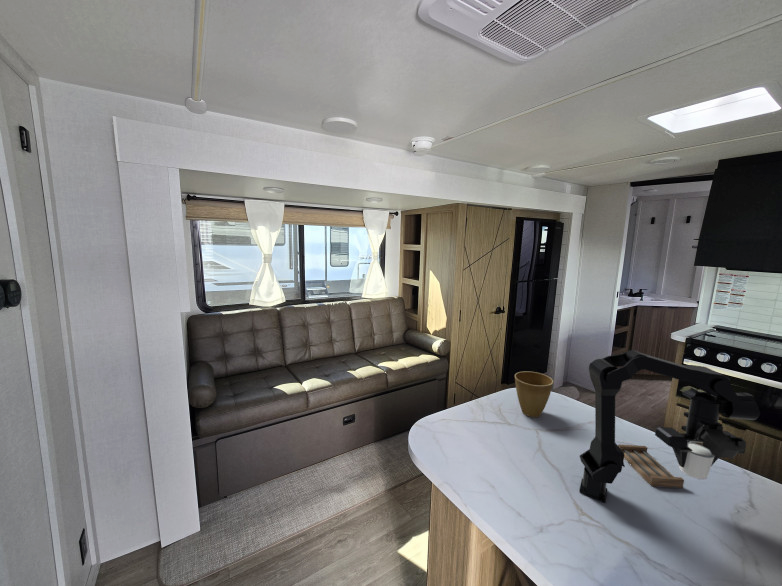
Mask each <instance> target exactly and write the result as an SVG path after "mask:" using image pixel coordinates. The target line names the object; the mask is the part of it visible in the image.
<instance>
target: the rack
mask: <svg viewBox="0 0 782 586" xmlns="http://www.w3.org/2000/svg"><path fill="white" fill-rule="evenodd" d="M617 445H618V446H619V448H620V449H621V450H622V451H623V452H624V458H625V459H624V460H625V461H626V460H627V461H628V462H629V463H628V462H627V461H626V462H627V463H628V464H629V465H630V464H631V465H630V466H631V468H632V469H633V470H634V471H636V472H637V474H639V476H640V477H641V478H643V479H644V480H645V481H647V482H648V483H649V484H650V485H651V486H650V485H649V484H648V483H647V482H646V483H647V484H648V485H649V486H650V487H658V486H663V487H662V488H672V487H678V488H677V489H684V484H685V479H684V478H683V477H679V476H674V475H673V474H672V473H671V472H670V471H669V470H667V468H665V467H664V466H663V465H662V464H661V463H660V462H659V461H657V460H656V459H655V458H654V457H653V456H652V455H651V454H649V452H648V447H647V446H646V445H633V444H620V443H619V444H617Z"/></svg>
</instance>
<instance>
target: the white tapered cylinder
mask: <svg viewBox="0 0 782 586" xmlns="http://www.w3.org/2000/svg"><path fill="white" fill-rule="evenodd" d="M688 447H689V448H690V449H692V451H690V452H688V453H687V457H686V462H685V465H684V467H681V466H680V465H679V464H678V467H679V469H680V471H681V472H682V473H684V474H685V475H687V476H689V477H692V478H694V479H697V480H707V479H708V476H709V474H710V472H711V471H710V470H711V469H712V466H713V465H712V462H713V459H714V457H715V456H714V455H713V454H712V453H711V451H710V450H709V449H707V448H705V447H703V445H700V444H697V443H696V442H689V445H688ZM711 465H712V466H711Z"/></svg>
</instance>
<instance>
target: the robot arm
mask: <svg viewBox="0 0 782 586" xmlns="http://www.w3.org/2000/svg"><path fill="white" fill-rule="evenodd" d="M641 370H645V371H649V372H652V373H656V374H659V375H662V376H666V377H669V378H671V379H672V378H673V379H676V380H678V381H682V382H685V383H688V384H690V385H691V386H693V387H695V388H697V389H700V390H702V391H698V390H696V389H695V388H693V387H691V388H689V389H687V390H684V391H682V392H681V394H682V395H684V396H686V397H687V398H689V399H690V402H689V406H688V407H689V408H688V411H683V417H686V418H687V419H686V424H685V425H681V430H682V431H683V433H680V432H679V431H677V430H676V429H675V428H673V427H667V426H658V427H656V428H655V432H654V435H655V436H656V437H657V438H658V439H659V440H661V441H662V442H663V443H665V445H667V446H668V447H670V448H672V450H673V452H674V453H673V454H674V455H675V457H676V461H677V463H678V466H679V465H680V466H681V467H684V465H685V462H686V457H687V453H688V452H690V451H692V449H690V448H689V447H688V445H689V442H691V443H701V444H702V446H703V447H705V448H707V449H709V450H710V451H711V453H712V454H713V455H714V456H715V457H714V459H713V462H712V465H711V467H712V466H713V465H714V464H715V463H716V462H717V461H718V459H721V458H727V459H728V458H729V459H734V458H735V456H737V454H739V455H744V454H745V452H746V447H747V445H746V444H747V441H745V439H743V437H740V436H739V437H737V436H736V435H734V434H733V433H731V432H729V431H728V430H724V426H723V424H722V423H721V422H719V420H720V419H719V417H720V415H721V416H722V417H724V418H727V419H736V420H749V421H756V420H758V419H759V418H760V416H761V411H760V407H759V405H758V404H757V401H755V396H754V395H753V394H750V393H748V392H735V390H734V389H733V387H732V384H731V382H732V381H731V379H730V378H729V377H728V376H726V375H724V374H722V373H720V372H717V371H716V370H714V369H711V368H709V367H707V366H701V365H695V364H689V365H686V364H680V363H676V362H674V361H670V360H666V359H663V358H659V357H657V356H654V355H650V354H646V353H643V352H640V351H638V350H636V349H635V350H634V349H631V350H627V351H625V352H622V353H618V354H611V355H607V356H605V357H602V358H597V359H595V360H593V361H591V362H590V363H589V366H588V372H589V378H590V381H591V383H592V385H593V388H594V394H595V396H594V397H595V401H594V403H595V405H594V407H595V409H594V410H595V411H594V412H595V426H594V427H595V433H594V435H595V436H594V437H593V438H592V440H591V441H590V446H589V449H588V450H586V451H584V452H583V453H581V454H580V455H579V459H580V462H581V463H582V464H583V466H584V468H583V476H582V478H581V481H580V486H579V488H578V489H579V493H580V494H583V495H586V496H588V497H590V498H592V499H595V500H597V501H599V502H602V503H607V495H608V488H607V485H608V484H613V483H614V481H615V479H616V477H617V476H618V475H619V474H620V473H621V472H622V471H623V468H625V467H626V466H625V463H624V460H625V459H624V452H623V451H622V450H621V449H620V448H619V446H618V444H617V443H616V395H618V393H619V392H620V390H621V389H622V386H623V382H625V381H627V380H630V379H632V378H633V377H634V376H635V375H636V374H637V373H638V372H640V371H641ZM684 432H685V433H684Z"/></svg>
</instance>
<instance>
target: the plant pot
mask: <svg viewBox="0 0 782 586" xmlns="http://www.w3.org/2000/svg"><path fill="white" fill-rule="evenodd" d="M514 382H515V389H516V395H517V398H518V399H517V400H518V404H519V407H520V409H521V413H522V414H524V415H525V416H527V417H530V418H539V417H541V416H542V413H543V412H544V410H545V408H546V405H547V404H548V401H549V398H550V397H551V392H552V389H553V385H554V380H553V378H551V377H550V376H548V375H546V374H544V373H541V372H537V371H536V372H535V371H525V370H524V371H519V372H516V373H515V374H514Z"/></svg>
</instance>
